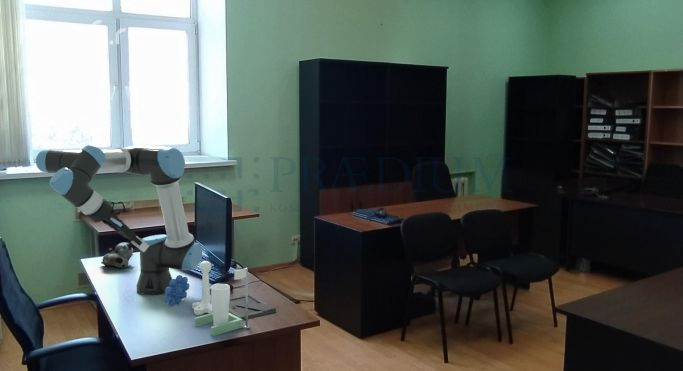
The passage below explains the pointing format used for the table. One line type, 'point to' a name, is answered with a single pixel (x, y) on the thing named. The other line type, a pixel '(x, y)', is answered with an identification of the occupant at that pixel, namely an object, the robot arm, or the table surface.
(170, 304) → the grapes
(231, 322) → the green u-shaped piece
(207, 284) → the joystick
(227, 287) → the drinking glass
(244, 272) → the flag post
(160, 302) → the table surface
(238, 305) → the picture frame
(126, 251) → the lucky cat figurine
